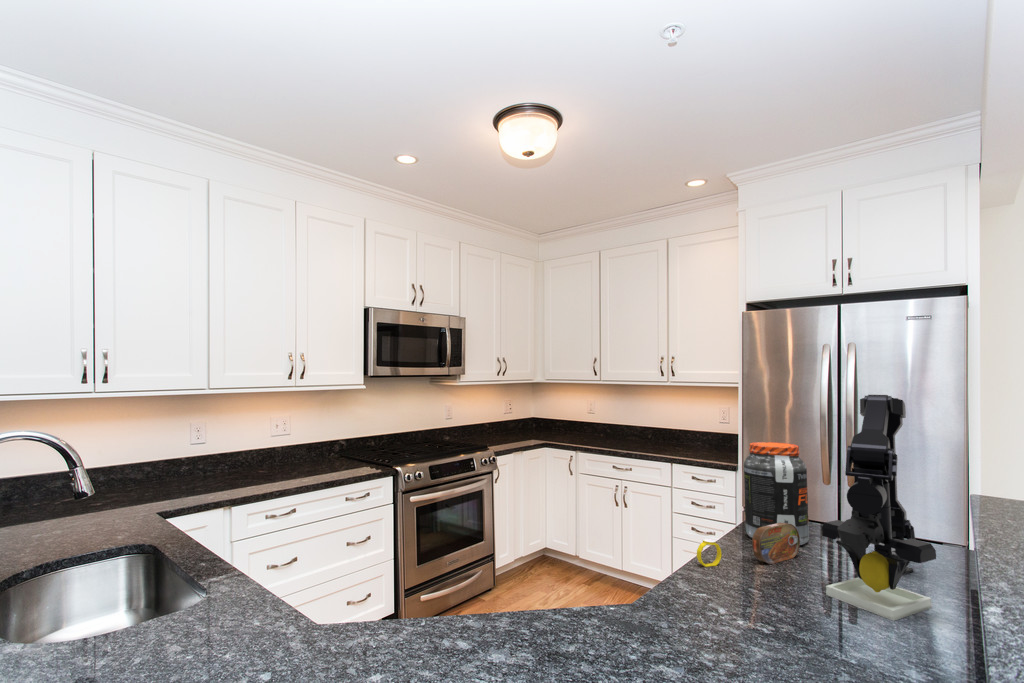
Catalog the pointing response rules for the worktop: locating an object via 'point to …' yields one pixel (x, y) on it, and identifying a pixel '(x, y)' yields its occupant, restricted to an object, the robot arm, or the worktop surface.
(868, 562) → the lemon
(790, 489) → the supplement tub
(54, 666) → the worktop surface
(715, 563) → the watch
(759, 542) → the tin
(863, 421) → the robot arm
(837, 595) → the tray
